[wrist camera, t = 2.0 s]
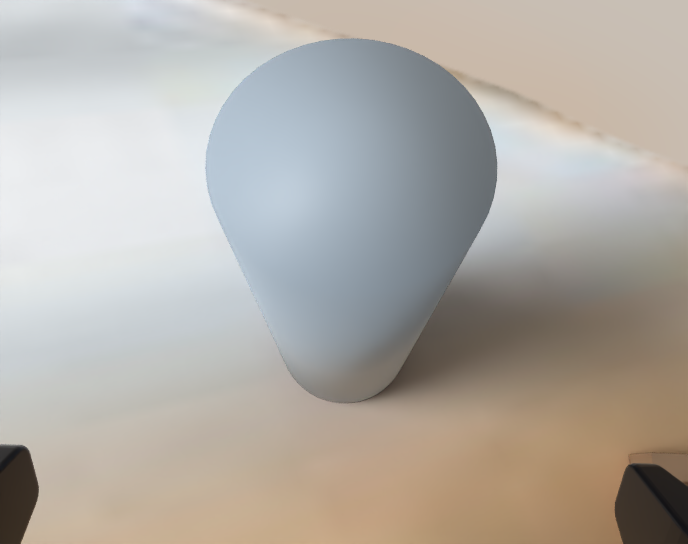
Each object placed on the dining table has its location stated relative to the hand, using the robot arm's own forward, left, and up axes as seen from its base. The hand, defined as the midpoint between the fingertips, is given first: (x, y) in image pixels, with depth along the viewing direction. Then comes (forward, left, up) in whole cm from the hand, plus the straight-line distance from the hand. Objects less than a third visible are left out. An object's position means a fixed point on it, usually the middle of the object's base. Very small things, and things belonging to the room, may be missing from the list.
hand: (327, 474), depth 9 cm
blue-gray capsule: (+5, 0, -11) cm, 12 cm away
